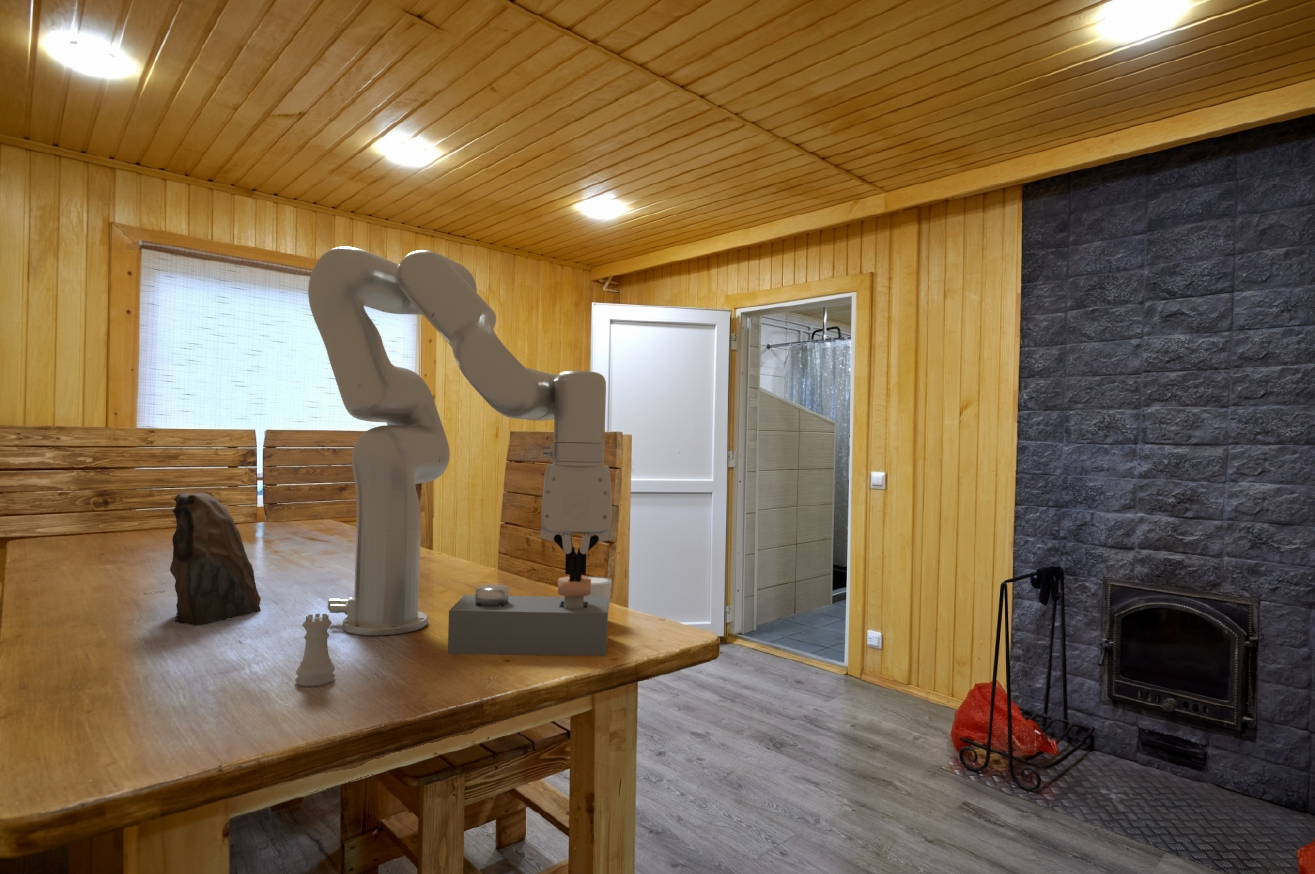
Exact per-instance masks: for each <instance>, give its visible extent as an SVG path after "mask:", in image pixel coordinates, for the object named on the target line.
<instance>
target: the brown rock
mask: <svg viewBox="0 0 1315 874" xmlns="http://www.w3.org/2000/svg"><path fill="white" fill-rule="evenodd" d="M173 500H174V502H175V507H174V508H173V509H172V513H173V514H174V517H175V520H176V522H175V523H176V527H175V531H174V533H173V536H172V539H171V540H172V546H173V550H172V559H171V560H172V561H171V564H170V568H169V571H170V573H171V575H172V576H173V578H174V580H175V584H174V591H175V593H176V598H177V599H176V600H177V601H176V605H175V606H176V616H175V617H174V618H175V620H174V622H175V623H178V624H182V625H183V624H184V625H185V624H186V625H191V626H193V627H194V626H195V627H196V626H197V627H198V626H204V625H209V624H213V623H217V622H222V621H226V620H229V619H234V618H237V617H244V616H248V615H251V614H254V613H258V612H262V609H261V606H260V605H261V597H260V594H259V591H258V589H257V583H256V578H255V574H254V573H255V571H254V568H253V567H254V566H253V565H252V563H251V562H250V560H249V558H248V554H247V552H246V551H245V547H244V546H245V545H244V542H243V538H242V536H241V532H240V530H239V529H238V528H237V525H236V524H235V520H234V519H233V517H232V515H231V514H230V513H229V511H228V509H227V508H226V507H225V505H223V504H222V503H221V502H220V501H219V500H218V499H217V497H215V496H213V495H211V494H209V493H206V491H204V490H200V491H199V492H198V491H197V492H191V491H183V492H179V493H178V494H177V495H176V496H175V497H174V499H173Z"/></svg>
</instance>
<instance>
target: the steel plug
mask: <svg viewBox="0 0 1315 874" xmlns="http://www.w3.org/2000/svg"><path fill="white" fill-rule="evenodd" d="M474 589H475V590H474V593H475V594H474V595H475V603H476V604H479V605H482V606H501V605H502V604H506V603H508V601H509V596H510V594H509V593H510V588H509V586H508V585H505V584H504V585H503V584H483V585H479V586H476V587H475V588H474Z"/></svg>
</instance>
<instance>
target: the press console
mask: <svg viewBox="0 0 1315 874" xmlns="http://www.w3.org/2000/svg"><path fill="white" fill-rule="evenodd" d="M564 599H565V596H543V595H542V596H537V595H536V596H533V595H509V601H508V603H506V604H502V605H501V606H482V605H479V604H476V603H475V594H464V595H462V597H461V598H459V600H458V601H457V602H456V603H455V604H454V605H453V606H452V607H450V609H449V610H448V629H447V634H448V635H447V654H449V655H450V654H451V655H453V654H454V655H458V654H459V655H463V654H464V655H505V656H506V655H513V656H514V655H515V656H517V655H518V656H519V655H520V656H575V657H578V656H579V657H580V656H581V657H583V656H585V657H586V656H587V657H607V645H608V628H609V627H608V626H609V625H608V623H609V621H608V620H609V611H608V598H598V597H584V602H583V608H564Z"/></svg>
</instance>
